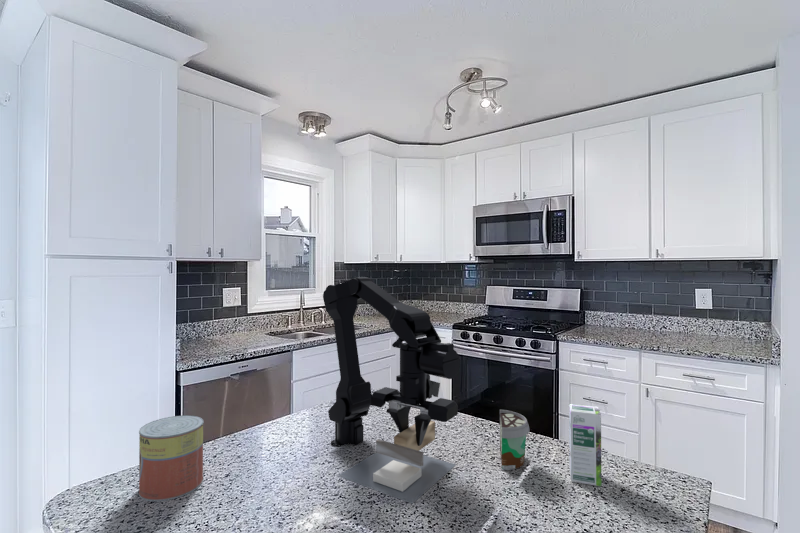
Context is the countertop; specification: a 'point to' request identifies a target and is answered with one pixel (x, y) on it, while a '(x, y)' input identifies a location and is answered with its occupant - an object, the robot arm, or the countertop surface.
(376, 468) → the slate board
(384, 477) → the tile
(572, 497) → the countertop surface
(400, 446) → the block
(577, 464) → the syrup box
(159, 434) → the canned food
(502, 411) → the food container
